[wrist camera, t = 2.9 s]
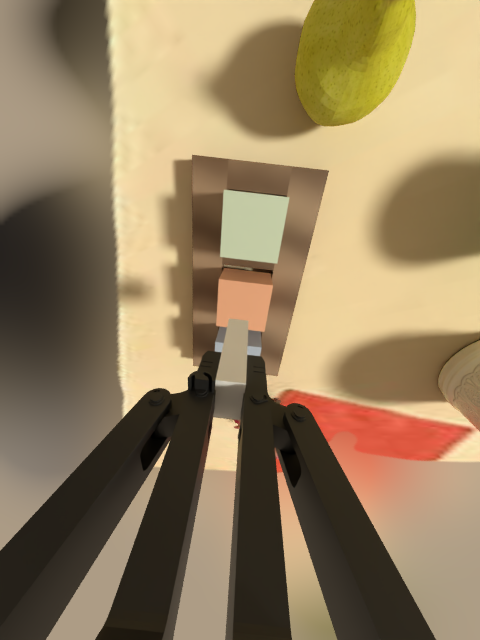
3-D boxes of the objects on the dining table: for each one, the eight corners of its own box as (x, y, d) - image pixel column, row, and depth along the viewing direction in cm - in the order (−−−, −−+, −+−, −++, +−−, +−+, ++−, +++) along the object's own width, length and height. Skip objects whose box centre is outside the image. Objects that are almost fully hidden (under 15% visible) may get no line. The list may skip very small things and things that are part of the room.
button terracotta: (224, 267, 23) (218, 279, 19) (270, 273, 23) (273, 285, 19) (221, 309, 25) (216, 326, 22) (263, 314, 25) (264, 331, 22)
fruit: (289, 145, 19) (331, 72, 9) (286, 32, 16) (346, -294, 6) (370, 129, 18) (522, 28, 8) (383, 7, 15) (667, -432, 5)
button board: (197, 159, 20) (192, 154, 18) (322, 173, 20) (328, 170, 18) (196, 356, 32) (193, 365, 30) (276, 366, 32) (277, 375, 30)
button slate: (220, 323, 26) (215, 342, 23) (260, 328, 26) (261, 347, 23) (218, 355, 29) (213, 376, 25) (255, 360, 29) (255, 381, 25)
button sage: (229, 192, 19) (223, 189, 16) (283, 198, 19) (289, 197, 16) (225, 248, 22) (219, 256, 18) (273, 254, 22) (277, 263, 18)
